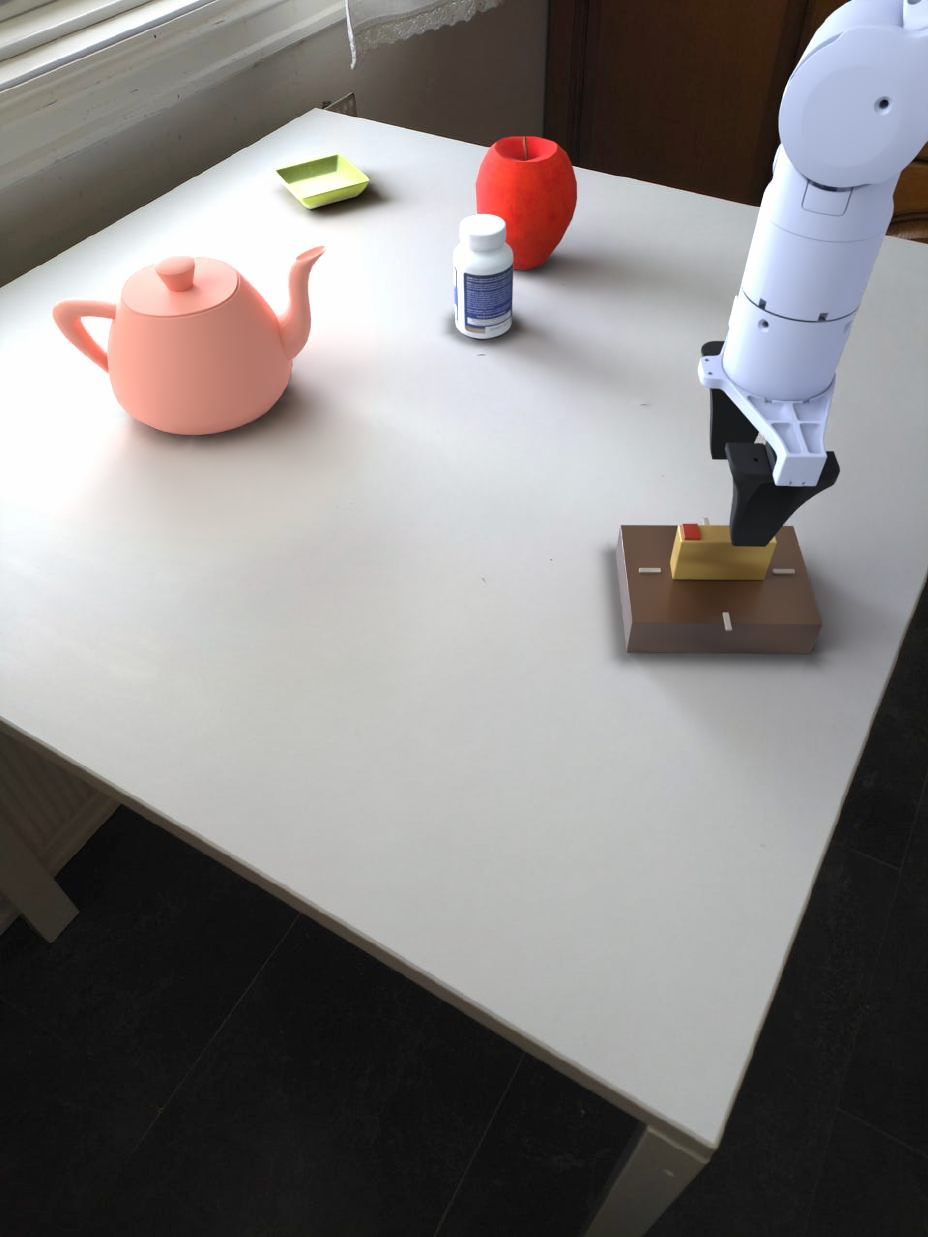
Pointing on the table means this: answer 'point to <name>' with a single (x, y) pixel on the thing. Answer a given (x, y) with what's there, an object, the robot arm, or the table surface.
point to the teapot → (195, 342)
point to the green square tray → (323, 180)
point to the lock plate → (713, 600)
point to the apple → (528, 195)
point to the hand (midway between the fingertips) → (737, 497)
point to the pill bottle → (483, 277)
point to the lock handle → (716, 555)
